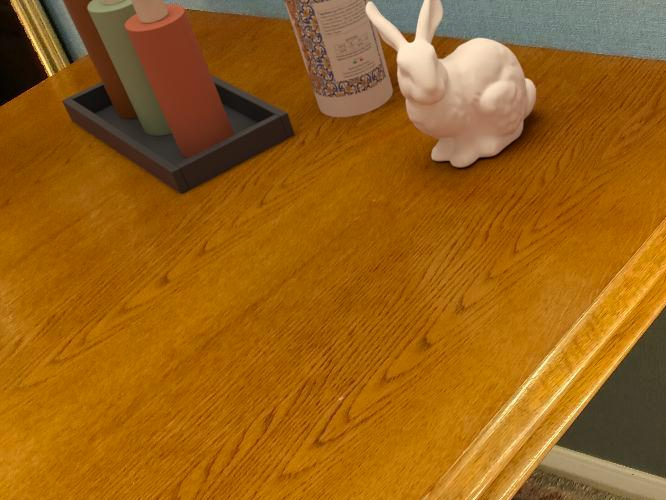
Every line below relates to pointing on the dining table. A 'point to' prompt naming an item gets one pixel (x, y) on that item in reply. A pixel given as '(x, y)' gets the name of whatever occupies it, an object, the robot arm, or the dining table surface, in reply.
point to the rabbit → (459, 89)
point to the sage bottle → (128, 62)
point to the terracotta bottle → (178, 75)
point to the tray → (162, 151)
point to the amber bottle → (100, 57)
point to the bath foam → (341, 55)
